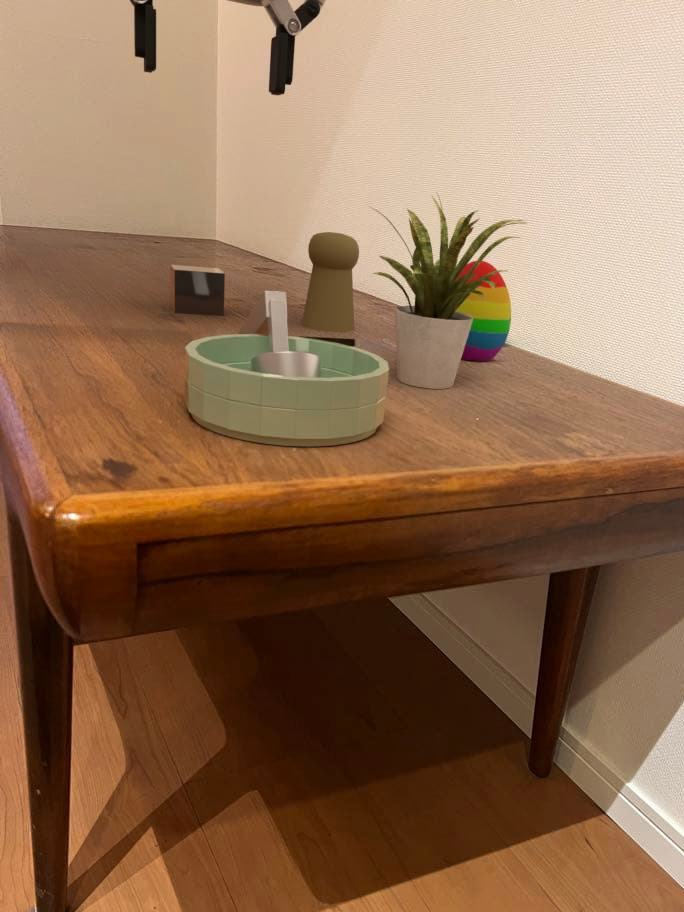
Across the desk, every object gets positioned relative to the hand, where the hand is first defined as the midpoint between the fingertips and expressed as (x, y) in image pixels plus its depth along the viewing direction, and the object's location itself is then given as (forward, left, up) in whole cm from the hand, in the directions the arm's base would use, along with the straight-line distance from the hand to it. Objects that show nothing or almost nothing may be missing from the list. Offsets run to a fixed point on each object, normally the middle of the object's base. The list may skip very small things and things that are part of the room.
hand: (215, 82), depth 60 cm
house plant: (+20, -6, -22) cm, 30 cm away
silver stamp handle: (+3, -10, -23) cm, 25 cm away
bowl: (+3, -17, -22) cm, 27 cm away
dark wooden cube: (+1, +16, -22) cm, 27 cm away
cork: (+14, +11, -22) cm, 28 cm away
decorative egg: (+29, +7, -22) cm, 37 cm away
